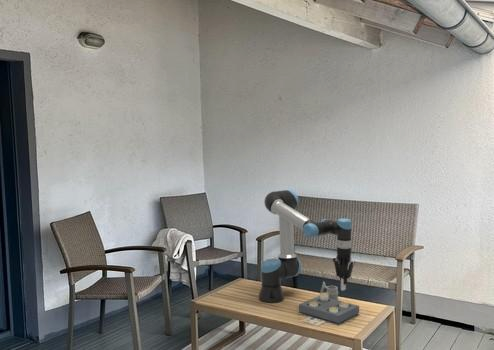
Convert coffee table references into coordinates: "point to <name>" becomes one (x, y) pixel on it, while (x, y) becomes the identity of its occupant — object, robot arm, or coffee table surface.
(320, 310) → the console
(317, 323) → the card
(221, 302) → the coffee table surface
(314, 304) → the button
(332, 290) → the mug
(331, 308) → the button
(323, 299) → the button
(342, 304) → the button
